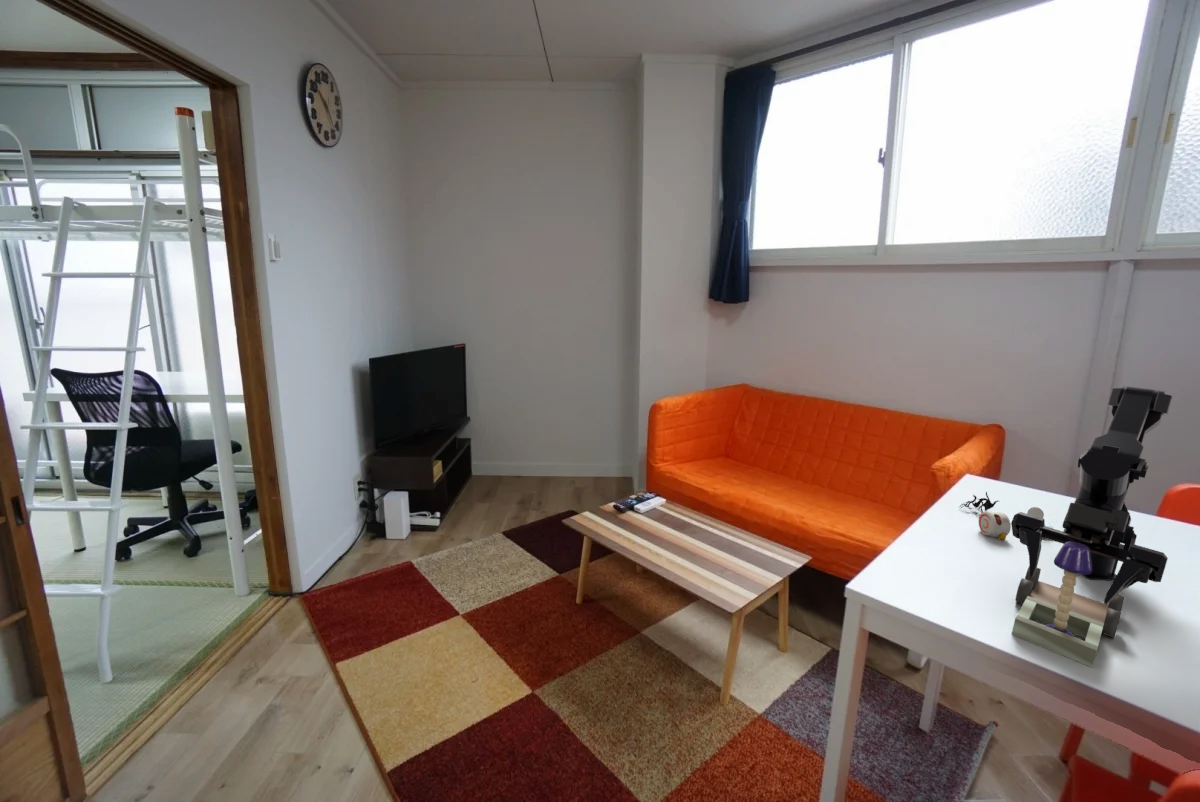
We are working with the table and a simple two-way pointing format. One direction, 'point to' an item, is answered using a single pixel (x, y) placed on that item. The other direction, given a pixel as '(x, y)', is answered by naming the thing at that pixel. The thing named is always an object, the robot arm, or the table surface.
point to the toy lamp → (1069, 579)
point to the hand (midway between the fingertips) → (1066, 589)
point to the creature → (977, 504)
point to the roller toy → (994, 524)
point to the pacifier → (1037, 513)
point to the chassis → (1083, 620)
